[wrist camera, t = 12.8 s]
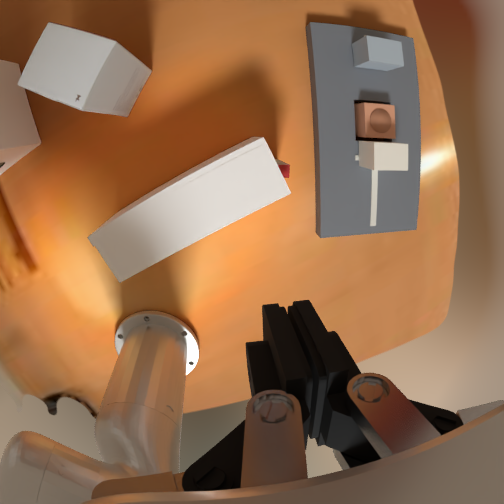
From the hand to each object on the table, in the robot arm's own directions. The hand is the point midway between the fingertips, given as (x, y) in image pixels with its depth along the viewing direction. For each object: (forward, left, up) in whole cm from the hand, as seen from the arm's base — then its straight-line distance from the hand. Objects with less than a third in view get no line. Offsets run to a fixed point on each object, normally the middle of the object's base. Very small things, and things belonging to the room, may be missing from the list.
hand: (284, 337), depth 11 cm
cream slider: (+5, -16, -25) cm, 30 cm away
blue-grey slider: (+16, -16, -25) cm, 34 cm away
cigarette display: (+1, +5, -27) cm, 28 cm away
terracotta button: (+8, -16, -26) cm, 32 cm away
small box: (+15, +14, -27) cm, 34 cm away
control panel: (+7, -16, -27) cm, 32 cm away
